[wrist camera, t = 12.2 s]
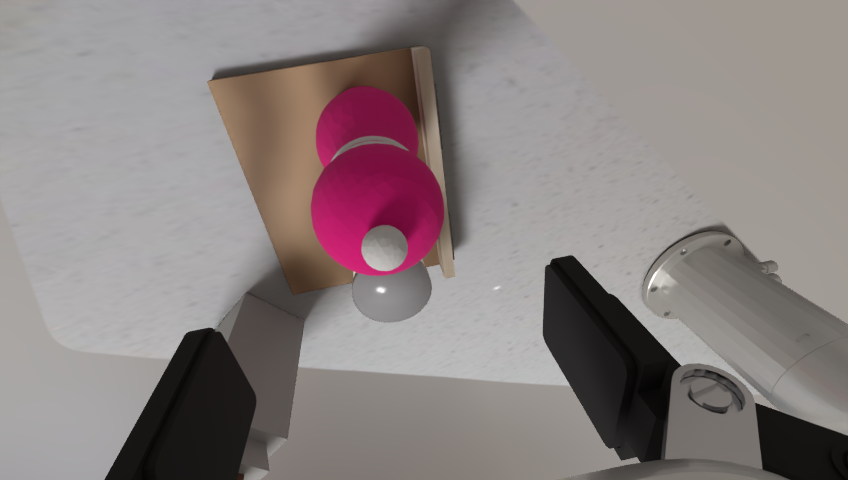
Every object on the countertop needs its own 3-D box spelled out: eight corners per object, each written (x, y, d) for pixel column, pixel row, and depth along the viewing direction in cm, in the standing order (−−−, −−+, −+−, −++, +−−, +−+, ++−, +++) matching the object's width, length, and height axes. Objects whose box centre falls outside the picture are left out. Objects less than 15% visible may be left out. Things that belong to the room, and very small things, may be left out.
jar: (411, 206, 35) (426, 251, 28) (420, 260, 38) (435, 313, 32) (344, 219, 35) (343, 268, 28) (359, 273, 38) (361, 329, 31)
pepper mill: (426, 132, 32) (516, 263, 15) (361, 185, 33) (375, 360, 16) (370, 57, 28) (402, 116, 11) (299, 119, 30) (234, 256, 13)
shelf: (424, 45, 29) (433, 48, 26) (449, 256, 40) (457, 275, 37) (211, 79, 28) (195, 86, 25) (294, 288, 39) (289, 311, 36)
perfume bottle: (245, 292, 38) (176, 478, 23) (304, 321, 41) (278, 502, 26) (211, 334, 40) (124, 533, 24) (269, 359, 43) (225, 549, 27)
